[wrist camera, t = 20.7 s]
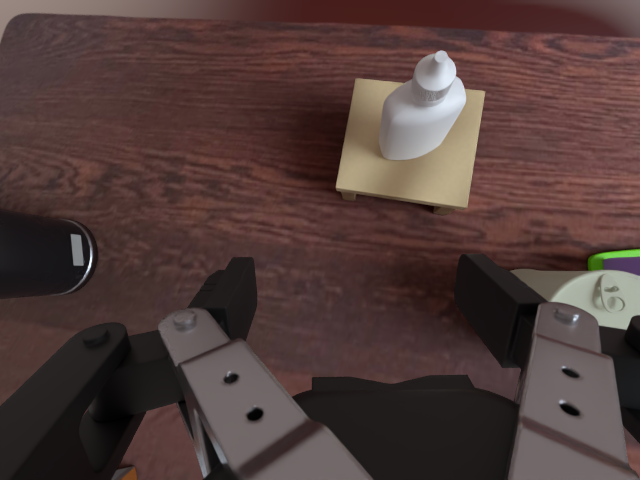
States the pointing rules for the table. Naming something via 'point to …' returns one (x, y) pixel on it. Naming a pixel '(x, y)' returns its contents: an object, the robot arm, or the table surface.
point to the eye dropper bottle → (421, 109)
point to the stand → (413, 174)
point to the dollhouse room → (616, 261)
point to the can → (590, 292)
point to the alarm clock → (125, 474)
